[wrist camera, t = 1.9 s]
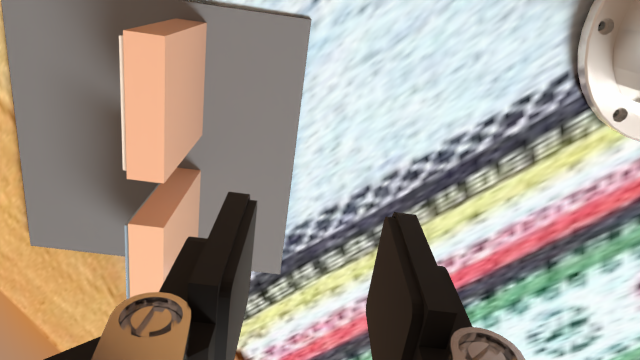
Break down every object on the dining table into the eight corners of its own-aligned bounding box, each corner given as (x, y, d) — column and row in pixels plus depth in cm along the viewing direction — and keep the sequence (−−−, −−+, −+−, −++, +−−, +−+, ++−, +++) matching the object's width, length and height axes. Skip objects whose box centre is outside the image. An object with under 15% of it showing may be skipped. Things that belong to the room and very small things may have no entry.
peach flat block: (200, 170, 31) (163, 227, 24) (197, 259, 34) (162, 335, 26) (169, 166, 31) (122, 223, 24) (168, 255, 34) (125, 331, 26)
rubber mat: (311, 19, 28) (311, 19, 27) (280, 269, 35) (279, 274, 34) (4, -26, 27) (-2, -26, 26) (35, 241, 34) (30, 245, 33)
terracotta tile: (206, 22, 27) (165, 36, 20) (202, 135, 30) (164, 183, 23) (171, 17, 27) (115, 29, 20) (169, 130, 30) (120, 177, 23)
